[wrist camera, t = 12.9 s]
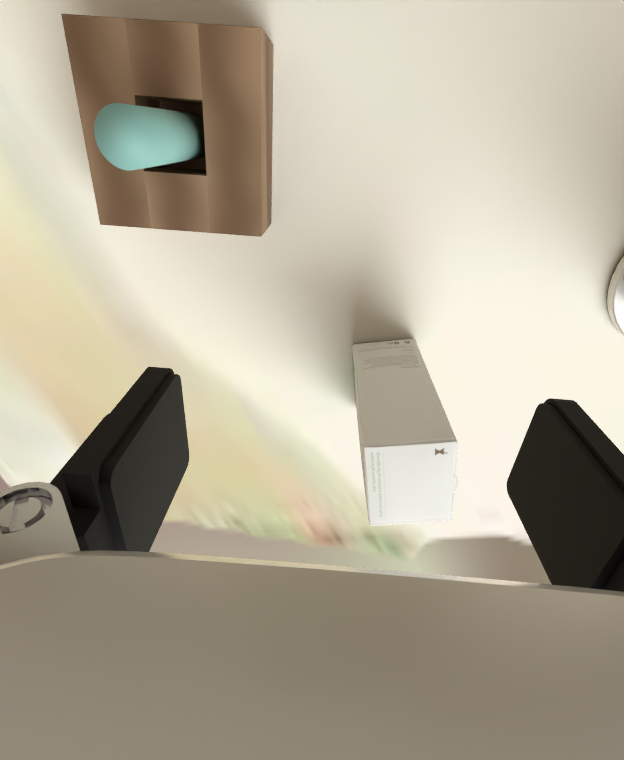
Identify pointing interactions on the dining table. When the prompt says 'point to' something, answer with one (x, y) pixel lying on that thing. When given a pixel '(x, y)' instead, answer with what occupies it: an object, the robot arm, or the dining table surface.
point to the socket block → (186, 94)
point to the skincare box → (402, 436)
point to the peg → (148, 136)
